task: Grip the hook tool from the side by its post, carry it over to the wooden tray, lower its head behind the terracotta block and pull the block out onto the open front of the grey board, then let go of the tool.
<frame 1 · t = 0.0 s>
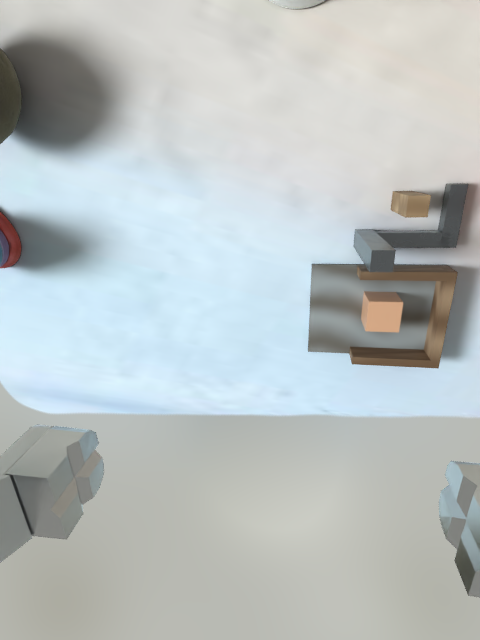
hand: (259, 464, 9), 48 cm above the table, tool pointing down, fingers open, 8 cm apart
wooden tray: (390, 311, 55), on the table
cantaloupe: (5, 99, 53), on the table
plain rod: (401, 200, 49), on the table
hook tool: (362, 238, 52), on the table
block: (377, 305, 55), point 1 cm above the table, touching wooden tray
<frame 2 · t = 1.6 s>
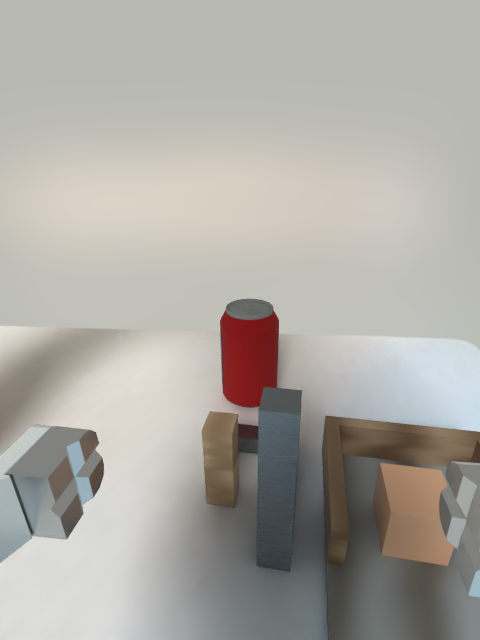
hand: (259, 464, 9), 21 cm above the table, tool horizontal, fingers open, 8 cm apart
wooden tray: (412, 516, 30), on the table
plain rod: (223, 493, 33), on the table
hook tool: (274, 552, 28), on the table
beverage can: (249, 396, 46), on the table
block: (406, 531, 28), point 1 cm above the table, touching wooden tray
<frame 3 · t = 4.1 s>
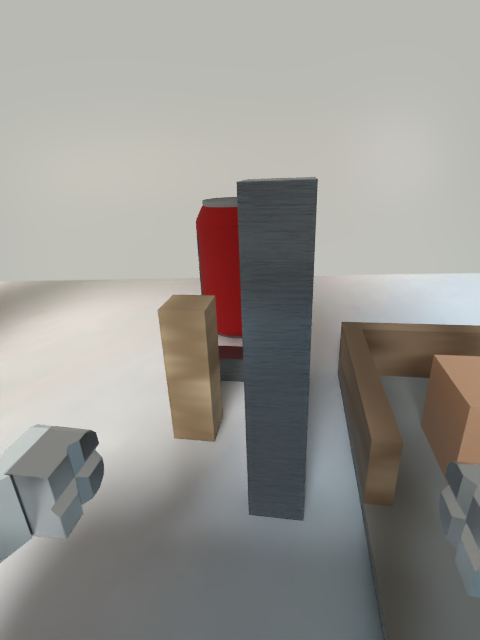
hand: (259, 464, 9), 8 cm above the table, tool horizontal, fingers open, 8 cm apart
plain rod: (199, 426, 22), on the table
hook tool: (277, 495, 17), on the table
beverage can: (238, 329, 36), on the table
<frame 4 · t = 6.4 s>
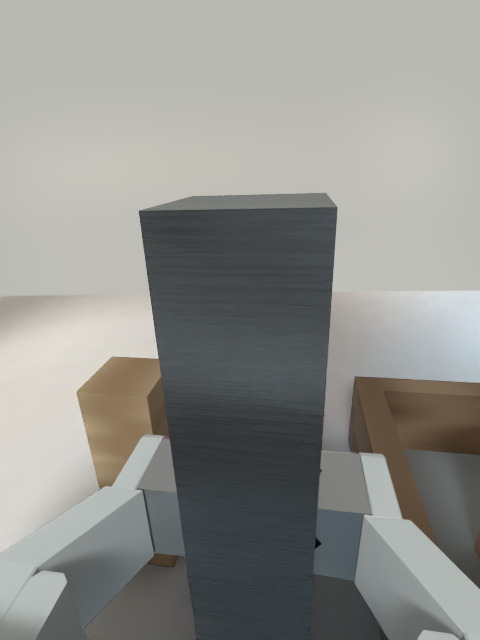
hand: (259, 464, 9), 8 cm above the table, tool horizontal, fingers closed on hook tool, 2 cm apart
plain rod: (155, 535, 16), on the table
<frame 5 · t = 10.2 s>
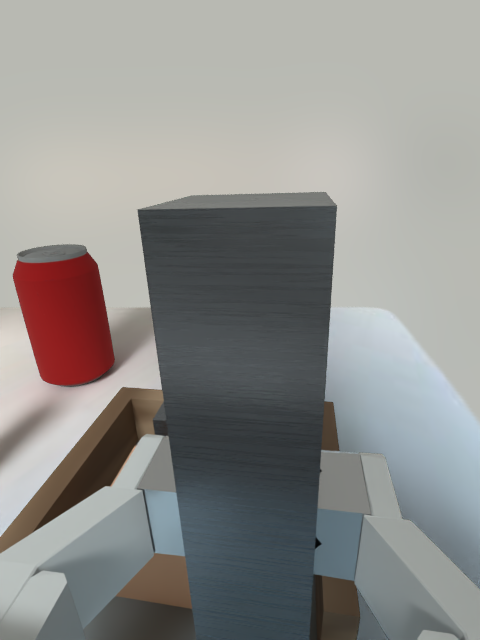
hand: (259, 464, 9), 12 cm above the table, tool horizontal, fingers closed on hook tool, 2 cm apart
wooden tray: (201, 527, 20), on the table
beverage can: (80, 374, 36), on the table
block: (171, 552, 18), point 1 cm above the table, touching wooden tray
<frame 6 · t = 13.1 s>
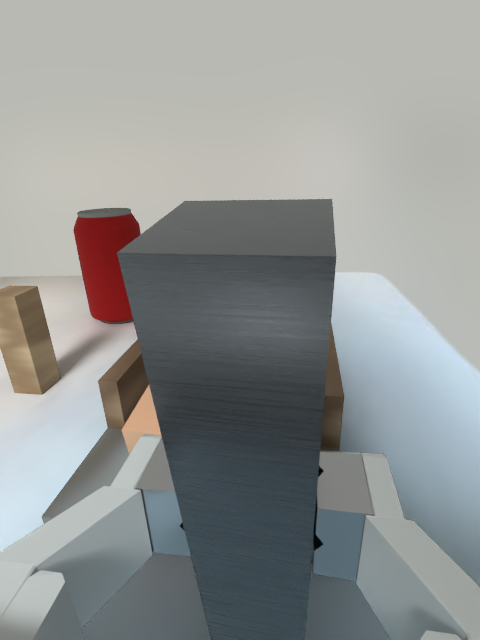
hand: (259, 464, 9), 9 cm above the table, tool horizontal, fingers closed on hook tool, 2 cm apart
wooden tray: (233, 394, 27), on the table
plain rod: (38, 385, 30), on the table
beverage can: (122, 317, 43), on the table
block: (196, 460, 20), point 1 cm above the table, tilted 8°, touching wooden tray, hook tool
when the fingers open (9 cm above the table, at t = 14.2 s): hook tool stays where it is, resting on wooden tray.
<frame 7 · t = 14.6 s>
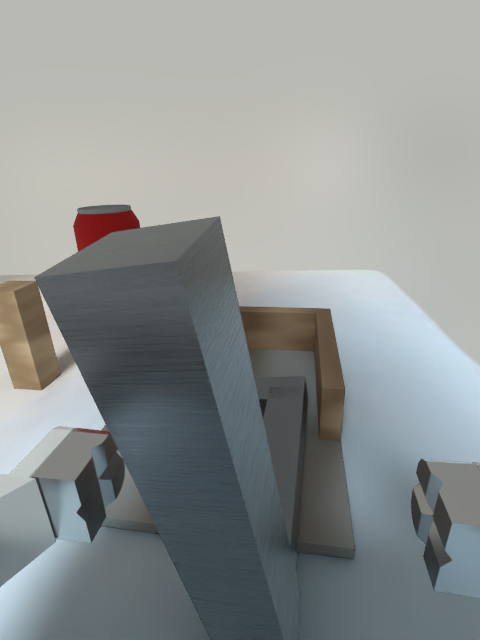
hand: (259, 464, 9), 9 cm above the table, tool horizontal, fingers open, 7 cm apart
wooden tray: (234, 389, 27), on the table
plain rod: (38, 380, 29), on the table
hook tool: (263, 627, 13), on the table, tilted 10°, touching wooden tray
beverage can: (122, 314, 43), on the table
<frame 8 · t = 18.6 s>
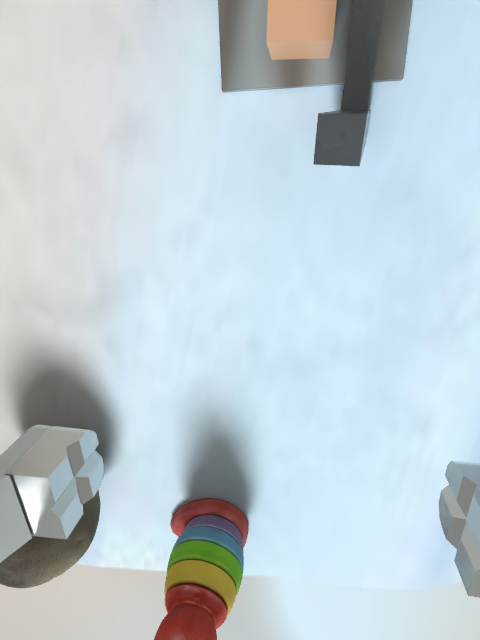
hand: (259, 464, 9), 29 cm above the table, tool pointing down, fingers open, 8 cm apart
cantaloupe: (76, 464, 52), on the table
stacking bear: (215, 521, 52), on the table
hook tool: (353, 126, 30), on the table, tilted 11°, touching wooden tray
block: (302, 23, 28), point 1 cm above the table, touching wooden tray
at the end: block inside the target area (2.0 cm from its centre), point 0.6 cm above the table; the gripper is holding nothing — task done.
